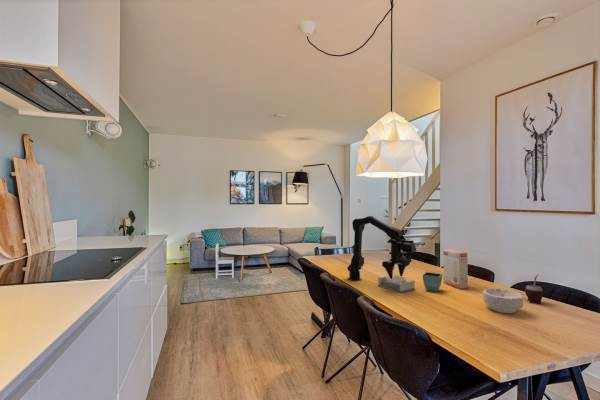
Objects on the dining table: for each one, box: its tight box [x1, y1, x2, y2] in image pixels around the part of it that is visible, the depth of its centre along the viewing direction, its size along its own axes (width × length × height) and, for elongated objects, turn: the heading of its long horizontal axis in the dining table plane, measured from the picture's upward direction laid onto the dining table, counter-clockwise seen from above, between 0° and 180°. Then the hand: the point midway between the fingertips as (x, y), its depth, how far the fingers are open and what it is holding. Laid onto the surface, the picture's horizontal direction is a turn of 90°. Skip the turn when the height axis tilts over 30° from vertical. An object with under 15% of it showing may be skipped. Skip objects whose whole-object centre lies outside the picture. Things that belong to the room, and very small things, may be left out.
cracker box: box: [442, 248, 469, 290], centre depth 177 cm, size 14×6×21 cm, turn 10°
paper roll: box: [386, 274, 408, 286], centre depth 173 cm, size 10×6×6 cm, turn 35°
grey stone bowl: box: [482, 287, 524, 314], centre depth 137 cm, size 15×15×8 cm
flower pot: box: [422, 271, 443, 292], centre depth 168 cm, size 9×9×9 cm
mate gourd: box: [524, 274, 544, 305], centre depth 147 cm, size 8×8×15 cm
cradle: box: [377, 275, 416, 294], centre depth 173 cm, size 16×12×5 cm
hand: (396, 277), depth 173 cm, fingers open, 9 cm apart
